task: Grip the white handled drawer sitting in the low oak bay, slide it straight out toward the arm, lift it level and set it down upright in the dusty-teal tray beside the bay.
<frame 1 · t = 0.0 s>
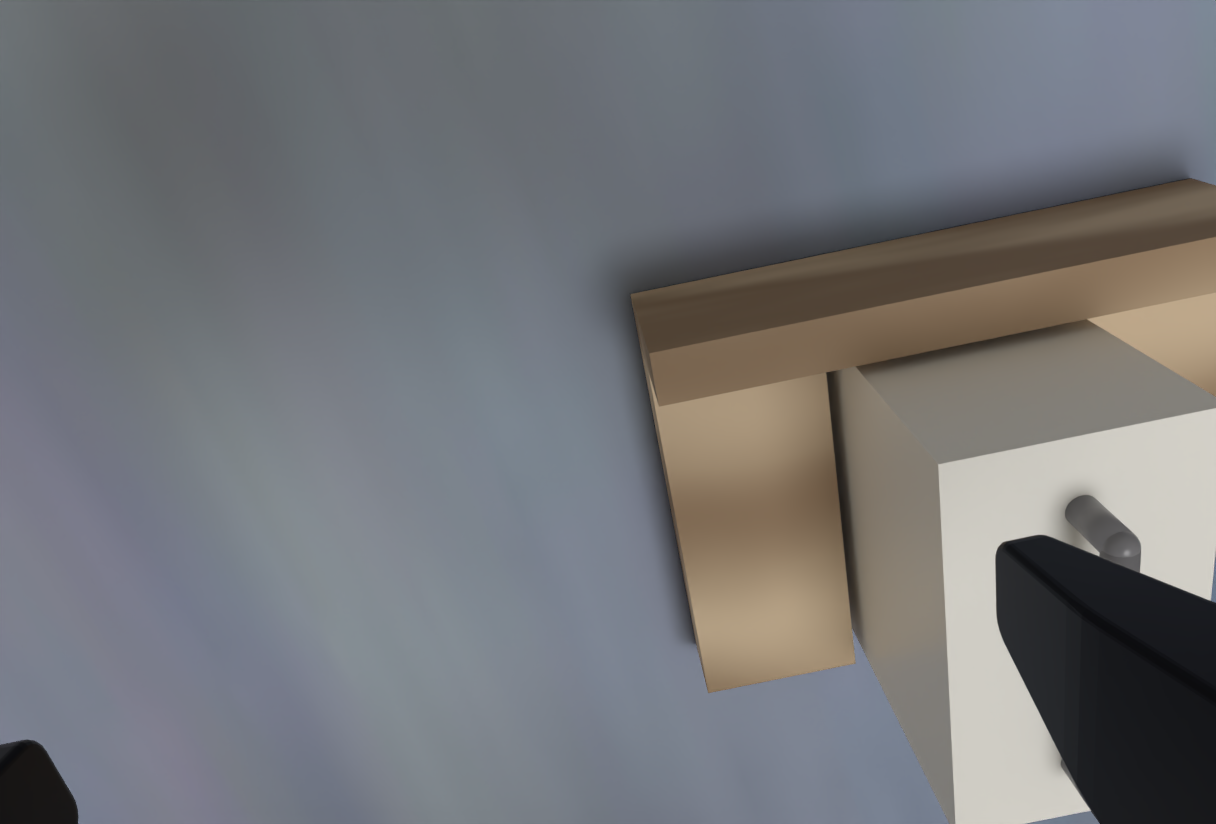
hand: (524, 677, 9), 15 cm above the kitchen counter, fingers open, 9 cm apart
bay: (921, 455, 25), on the kitchen counter
white handled drawer: (920, 453, 25), resting in bay
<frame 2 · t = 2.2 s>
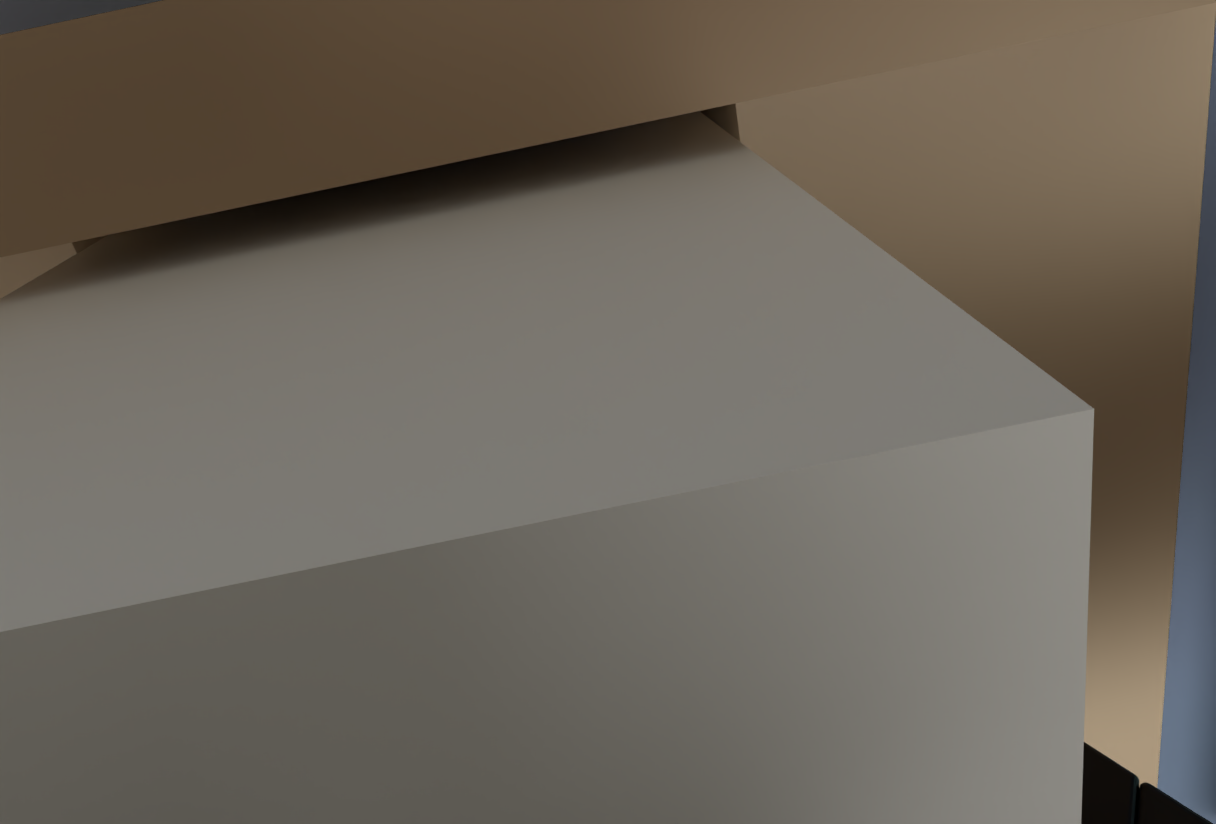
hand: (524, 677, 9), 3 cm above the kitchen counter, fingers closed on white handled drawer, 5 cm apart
bay: (526, 511, 11), on the kitchen counter
white handled drawer: (526, 510, 12), resting in bay, touching gripper
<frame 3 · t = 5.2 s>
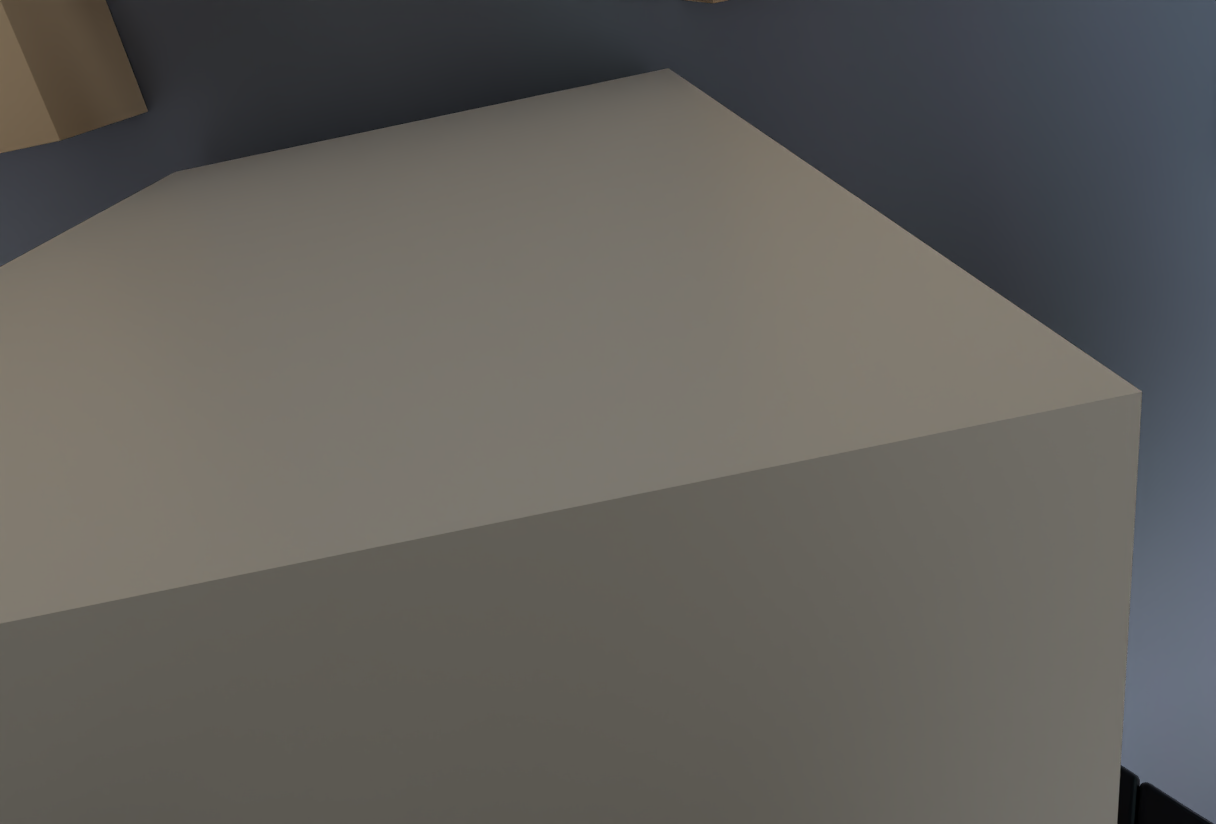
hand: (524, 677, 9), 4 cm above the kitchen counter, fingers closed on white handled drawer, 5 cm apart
white handled drawer: (523, 504, 11), point 1 cm above the kitchen counter, touching gripper
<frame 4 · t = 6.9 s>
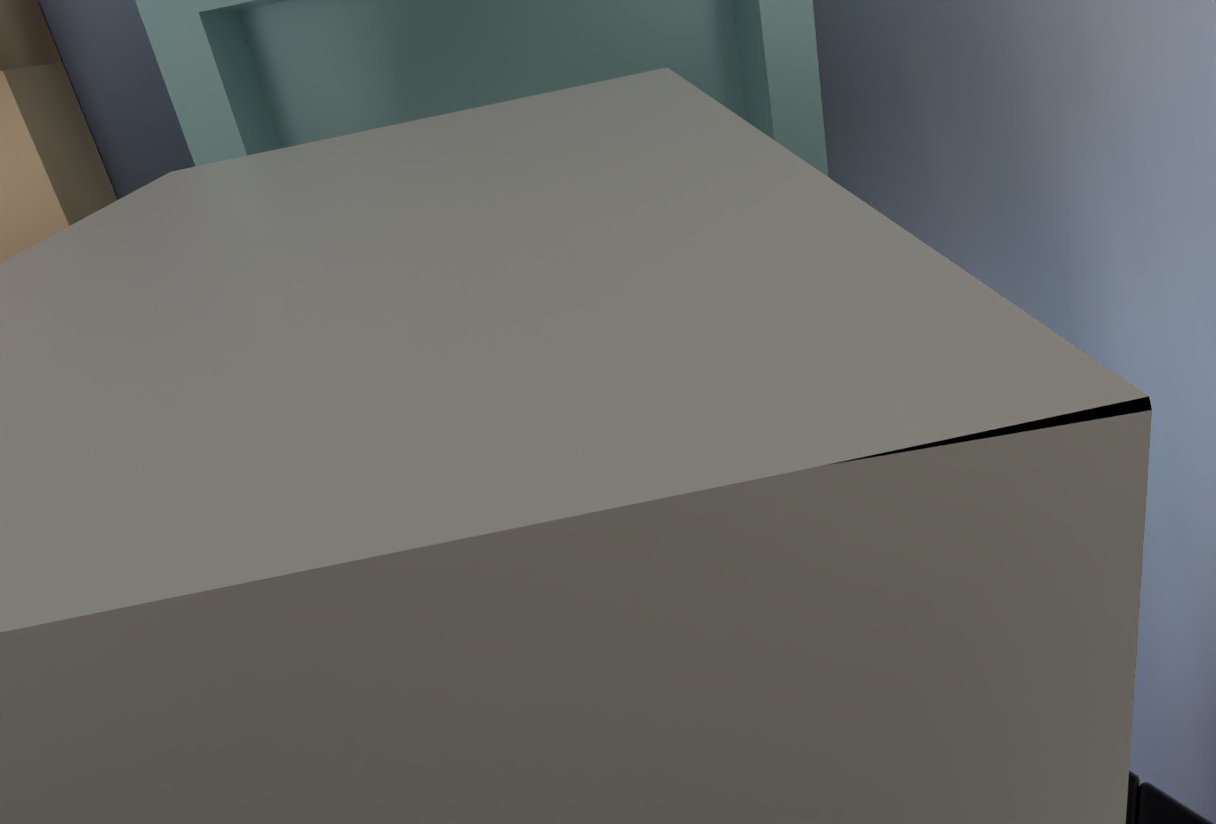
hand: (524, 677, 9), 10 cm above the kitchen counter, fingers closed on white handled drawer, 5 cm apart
tray: (555, 300, 18), on the kitchen counter
white handled drawer: (521, 506, 11), point 8 cm above the kitchen counter, touching gripper
when the fingers open (5 cm above the kitchen counter, at t = 8.3 s): white handled drawer drops 2 cm, resting on tray.
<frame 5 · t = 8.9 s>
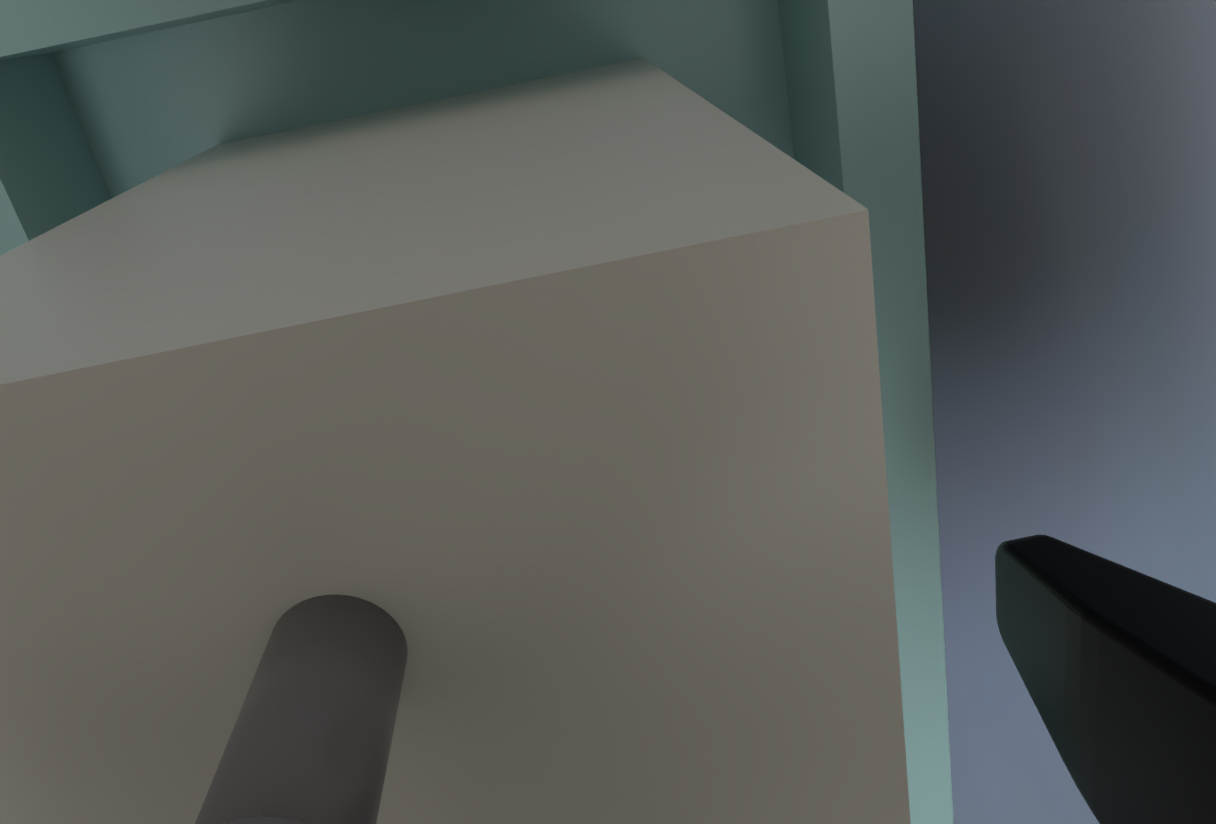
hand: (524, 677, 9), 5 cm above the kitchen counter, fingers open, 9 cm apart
tray: (530, 439, 13), on the kitchen counter
white handled drawer: (517, 444, 13), resting on tray
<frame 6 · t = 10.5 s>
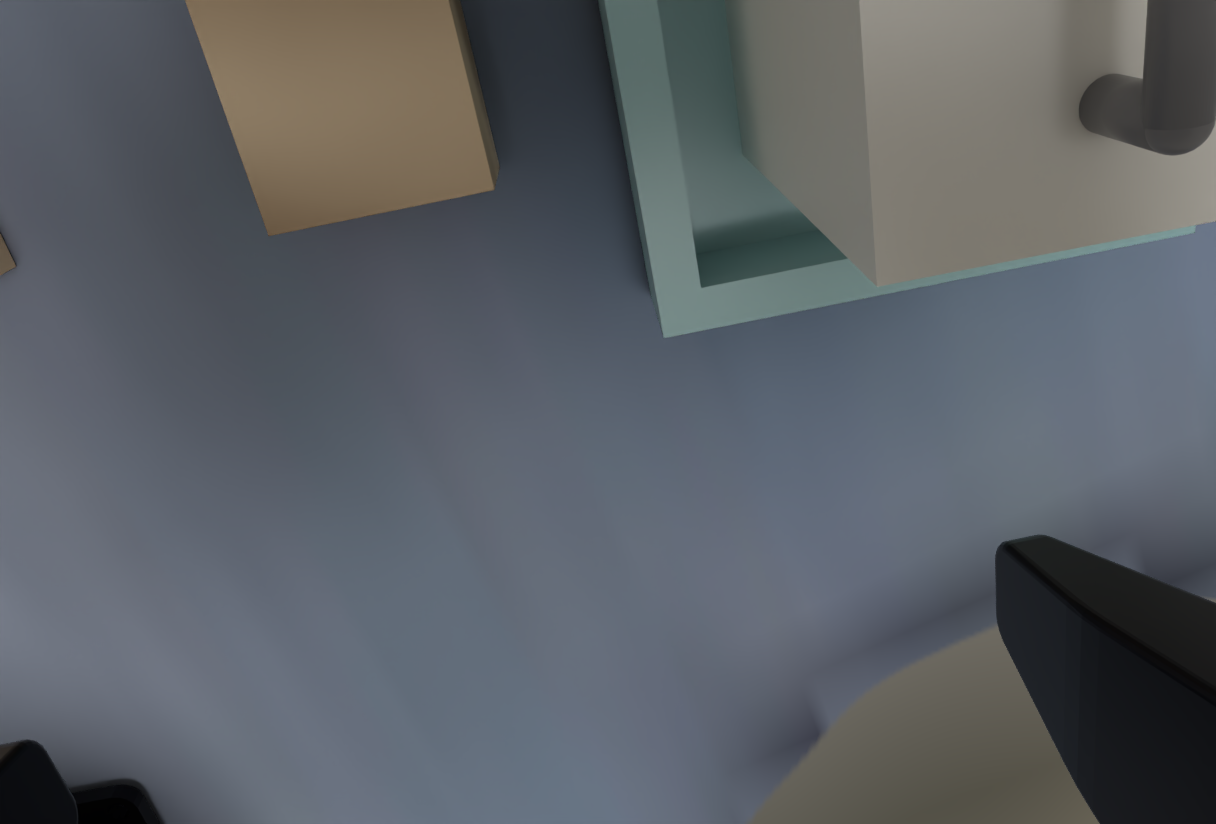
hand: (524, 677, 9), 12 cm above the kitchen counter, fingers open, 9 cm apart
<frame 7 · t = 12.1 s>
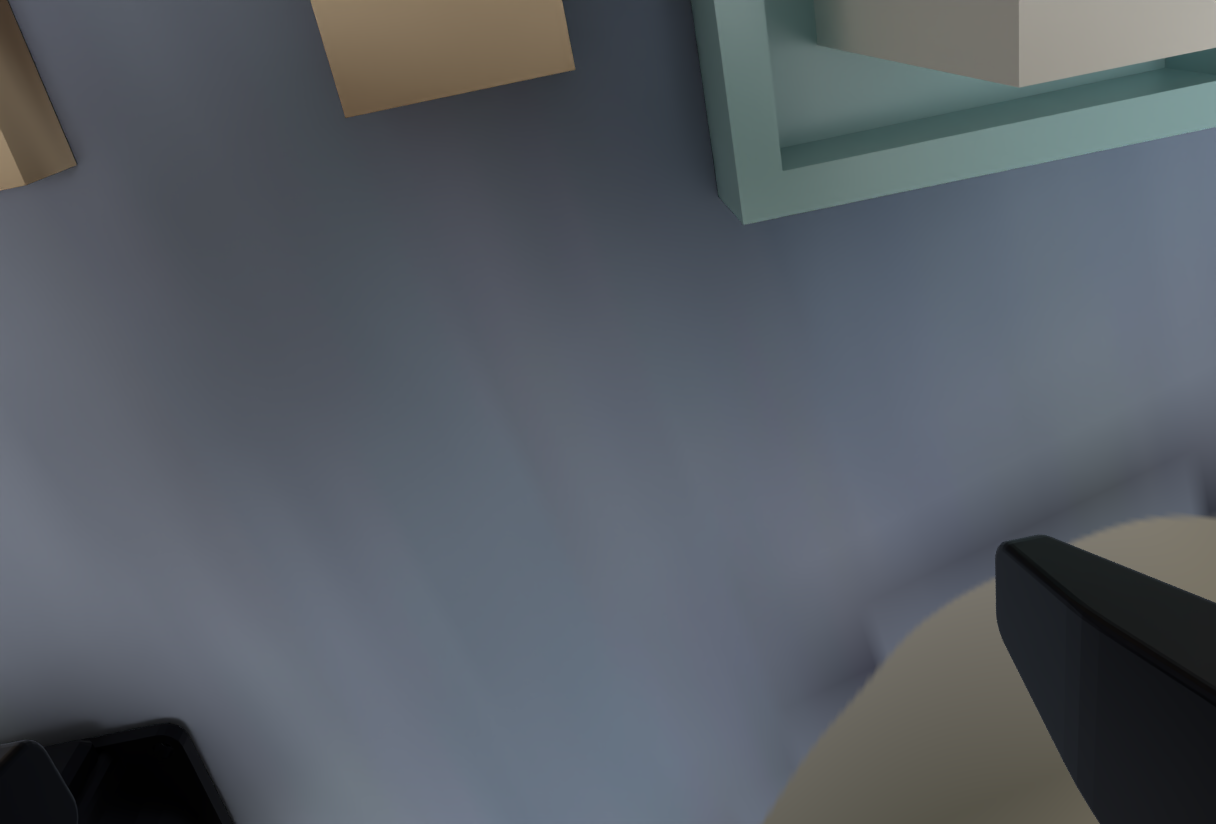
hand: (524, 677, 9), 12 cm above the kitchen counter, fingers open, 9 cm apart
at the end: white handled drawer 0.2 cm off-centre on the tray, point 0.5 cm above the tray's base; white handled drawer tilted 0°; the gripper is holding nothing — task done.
